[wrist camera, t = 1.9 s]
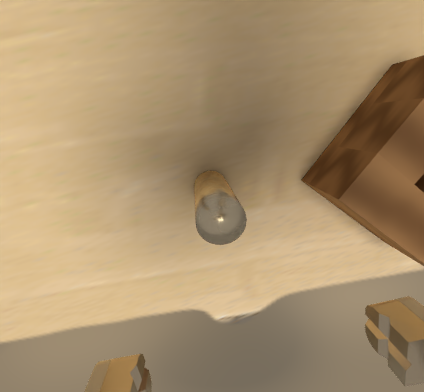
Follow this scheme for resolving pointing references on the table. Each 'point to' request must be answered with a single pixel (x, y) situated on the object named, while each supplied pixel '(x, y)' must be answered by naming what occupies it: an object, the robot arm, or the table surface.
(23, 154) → the table surface
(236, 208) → the pin
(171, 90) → the table surface
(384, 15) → the table surface
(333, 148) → the bore block
